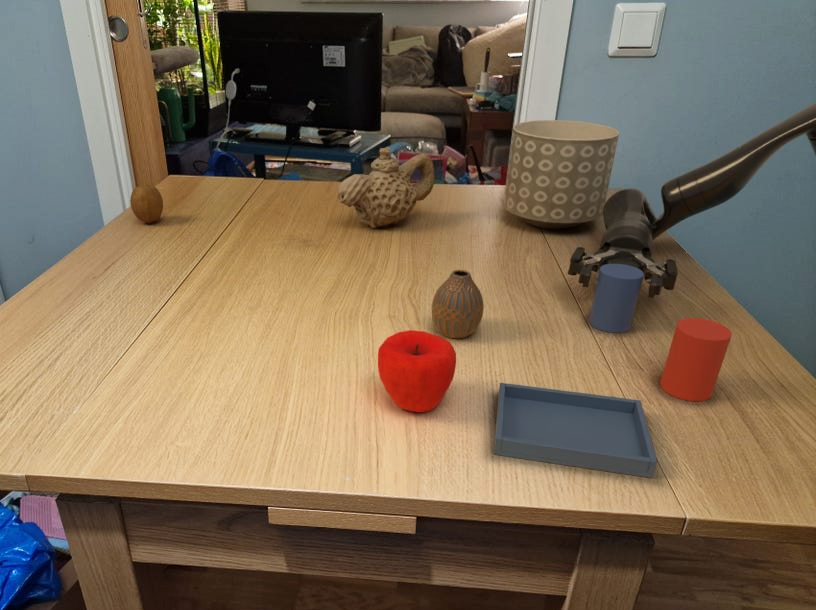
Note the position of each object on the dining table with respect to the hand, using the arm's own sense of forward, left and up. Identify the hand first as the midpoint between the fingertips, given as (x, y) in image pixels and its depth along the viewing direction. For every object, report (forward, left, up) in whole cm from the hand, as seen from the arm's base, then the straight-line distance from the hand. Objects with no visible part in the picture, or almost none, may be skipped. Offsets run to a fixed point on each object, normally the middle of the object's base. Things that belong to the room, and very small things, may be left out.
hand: (618, 286), depth 90 cm
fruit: (+85, -25, -6) cm, 89 cm away
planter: (+7, -45, -6) cm, 46 cm away
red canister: (-7, +16, -6) cm, 18 cm away
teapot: (+39, -36, -6) cm, 54 cm away
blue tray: (+7, +29, -6) cm, 30 cm away
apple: (+24, +27, -6) cm, 36 cm away
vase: (+21, +8, -6) cm, 23 cm away
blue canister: (0, 0, -6) cm, 6 cm away
